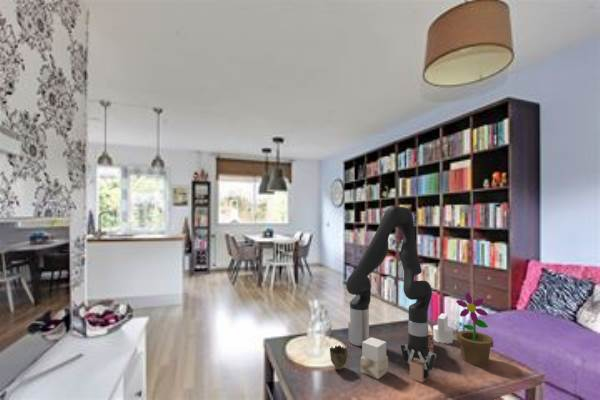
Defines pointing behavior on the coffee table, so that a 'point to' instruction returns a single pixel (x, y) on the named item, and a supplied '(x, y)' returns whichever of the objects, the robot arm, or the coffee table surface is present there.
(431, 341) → the stack of blocks
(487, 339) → the flowerpot
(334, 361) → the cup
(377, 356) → the cream middle block
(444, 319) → the cylinder with rectangular tab
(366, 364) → the maple base block
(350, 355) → the coffee table surface
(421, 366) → the tan block
